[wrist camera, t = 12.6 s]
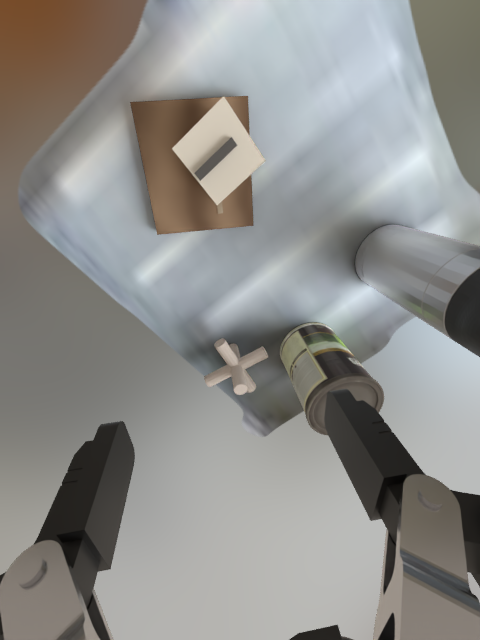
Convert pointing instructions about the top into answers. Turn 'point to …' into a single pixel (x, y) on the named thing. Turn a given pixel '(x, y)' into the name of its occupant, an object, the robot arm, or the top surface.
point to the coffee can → (324, 371)
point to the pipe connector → (235, 367)
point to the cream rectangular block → (219, 151)
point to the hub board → (185, 168)
